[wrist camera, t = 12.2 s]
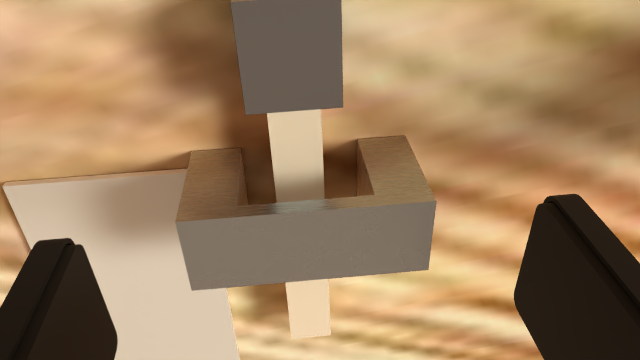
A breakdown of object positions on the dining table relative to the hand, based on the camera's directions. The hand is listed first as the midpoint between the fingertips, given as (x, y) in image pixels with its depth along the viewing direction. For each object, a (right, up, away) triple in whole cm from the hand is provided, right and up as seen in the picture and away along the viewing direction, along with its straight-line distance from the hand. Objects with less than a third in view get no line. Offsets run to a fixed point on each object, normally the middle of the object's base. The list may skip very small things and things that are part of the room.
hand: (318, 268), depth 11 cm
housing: (-1, +2, +17) cm, 17 cm away
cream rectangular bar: (-1, +2, +17) cm, 17 cm away
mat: (-11, -6, +21) cm, 24 cm away
